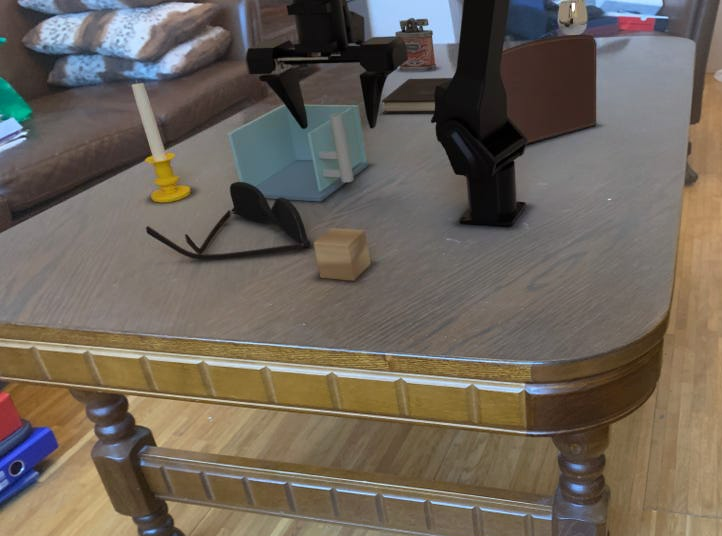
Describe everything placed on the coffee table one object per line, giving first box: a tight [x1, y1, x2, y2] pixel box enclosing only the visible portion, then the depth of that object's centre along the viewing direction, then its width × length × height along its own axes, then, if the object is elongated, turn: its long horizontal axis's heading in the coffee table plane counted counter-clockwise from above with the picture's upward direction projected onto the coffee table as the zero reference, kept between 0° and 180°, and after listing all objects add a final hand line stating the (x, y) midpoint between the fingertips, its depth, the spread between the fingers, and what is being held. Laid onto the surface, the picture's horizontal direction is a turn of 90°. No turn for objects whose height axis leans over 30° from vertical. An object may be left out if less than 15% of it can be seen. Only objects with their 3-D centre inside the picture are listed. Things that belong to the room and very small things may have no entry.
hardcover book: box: [381, 77, 453, 115], centre depth 137 cm, size 16×23×2 cm
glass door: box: [307, 108, 361, 191], centre depth 101 cm, size 12×4×10 cm, turn 161°
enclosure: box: [226, 103, 369, 203], centre depth 104 cm, size 14×12×9 cm
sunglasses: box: [145, 181, 311, 261], centre depth 87 cm, size 17×14×5 cm
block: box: [313, 227, 372, 282], centre depth 80 cm, size 4×4×4 cm
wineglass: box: [557, 0, 588, 36], centre depth 150 cm, size 6×6×12 cm
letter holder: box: [500, 34, 597, 145], centre depth 114 cm, size 10×20×14 cm, turn 123°
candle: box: [131, 79, 192, 204], centre depth 101 cm, size 5×5×16 cm
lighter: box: [394, 17, 437, 72], centre depth 159 cm, size 8×3×10 cm, turn 73°
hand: (338, 127), depth 95 cm, fingers open, 9 cm apart
